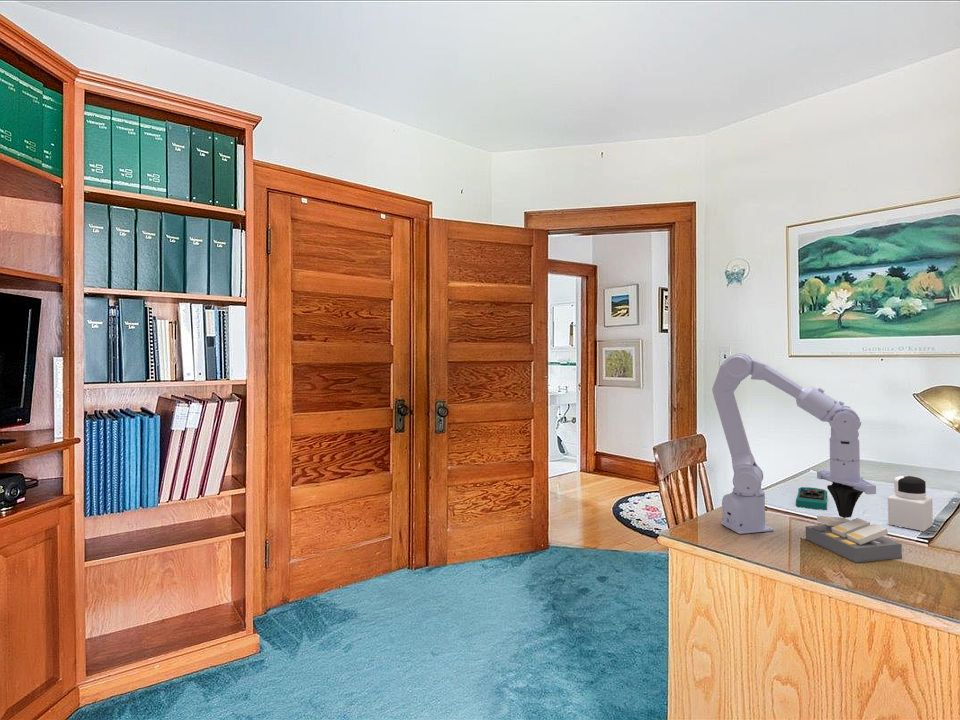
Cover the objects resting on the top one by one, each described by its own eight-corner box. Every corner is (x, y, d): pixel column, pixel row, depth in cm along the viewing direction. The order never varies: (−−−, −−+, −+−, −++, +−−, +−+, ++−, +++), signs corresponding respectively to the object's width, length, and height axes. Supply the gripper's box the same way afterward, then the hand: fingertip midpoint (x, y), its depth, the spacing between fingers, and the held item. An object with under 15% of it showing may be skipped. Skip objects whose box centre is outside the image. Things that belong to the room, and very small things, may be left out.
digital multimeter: (827, 498, 156) (827, 488, 156) (827, 512, 144) (826, 501, 144) (798, 495, 160) (798, 485, 160) (795, 508, 148) (795, 498, 148)
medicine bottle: (933, 525, 130) (932, 477, 129) (923, 532, 126) (923, 482, 125) (897, 518, 135) (897, 472, 135) (887, 524, 131) (886, 477, 131)
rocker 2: (844, 537, 116) (842, 532, 116) (832, 532, 119) (831, 527, 119) (871, 527, 117) (869, 522, 117) (858, 522, 120) (857, 517, 120)
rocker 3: (860, 544, 112) (859, 539, 112) (847, 539, 115) (846, 534, 115) (888, 533, 113) (886, 528, 113) (875, 528, 116) (873, 523, 116)
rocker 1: (827, 525, 120) (828, 520, 120) (816, 521, 123) (817, 515, 123) (854, 527, 121) (855, 521, 121) (843, 522, 124) (843, 517, 124)
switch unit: (856, 562, 110) (855, 545, 110) (805, 538, 124) (805, 523, 124) (901, 557, 112) (901, 540, 112) (847, 534, 126) (846, 519, 126)
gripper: (887, 464, 116) (888, 525, 116) (834, 451, 130) (835, 506, 130) (859, 466, 115) (860, 528, 115) (808, 453, 129) (809, 508, 129)
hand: (845, 516), depth 123 cm, fingers closed
